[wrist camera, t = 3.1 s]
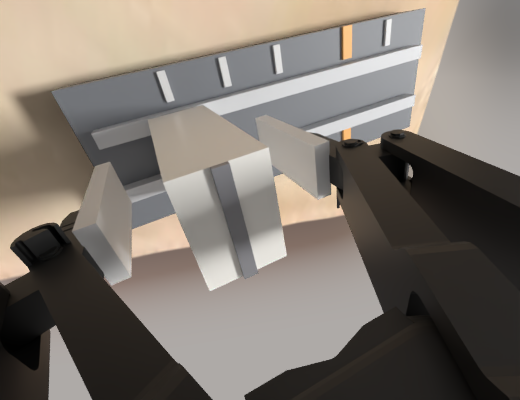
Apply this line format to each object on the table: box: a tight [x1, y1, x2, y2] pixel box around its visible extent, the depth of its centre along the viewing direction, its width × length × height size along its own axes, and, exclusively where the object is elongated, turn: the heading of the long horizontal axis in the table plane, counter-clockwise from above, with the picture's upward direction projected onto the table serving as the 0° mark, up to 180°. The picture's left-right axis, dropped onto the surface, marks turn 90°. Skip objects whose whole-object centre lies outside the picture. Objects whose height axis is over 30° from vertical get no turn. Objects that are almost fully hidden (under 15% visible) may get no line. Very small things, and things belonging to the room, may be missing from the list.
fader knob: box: [148, 105, 287, 291], centre depth 14 cm, size 5×4×11 cm
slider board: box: [51, 8, 425, 229], centre depth 21 cm, size 10×28×3 cm, turn 102°
